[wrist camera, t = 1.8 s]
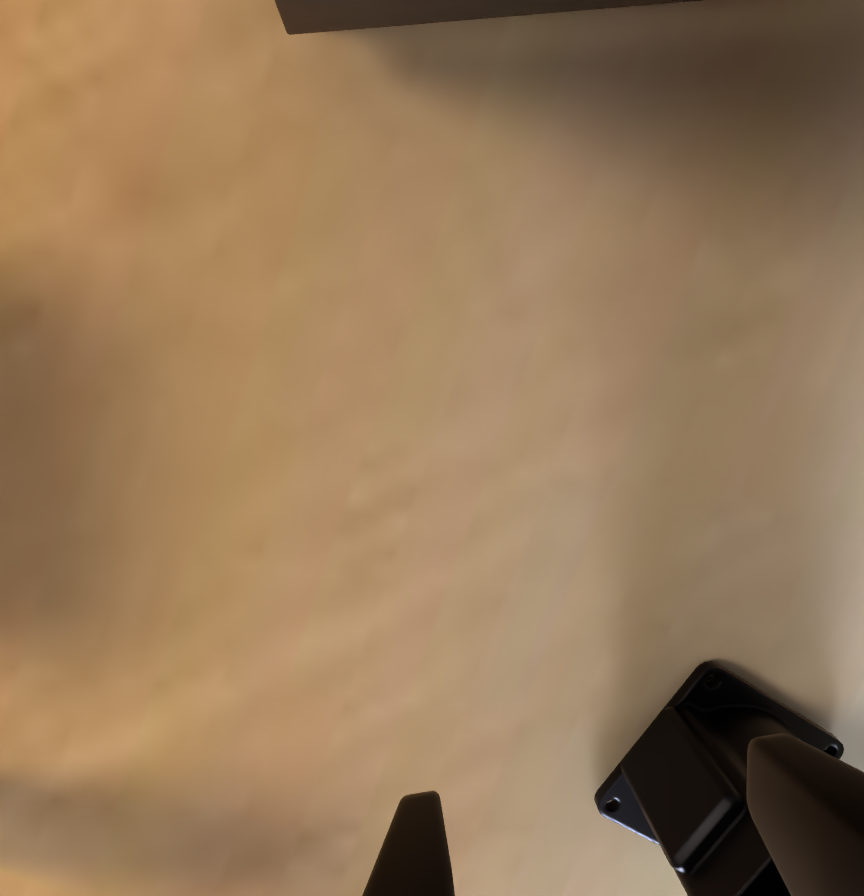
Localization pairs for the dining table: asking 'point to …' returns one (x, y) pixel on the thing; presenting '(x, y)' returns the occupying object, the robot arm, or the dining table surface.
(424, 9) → the netbook screen
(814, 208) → the dining table surface
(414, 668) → the dining table surface
